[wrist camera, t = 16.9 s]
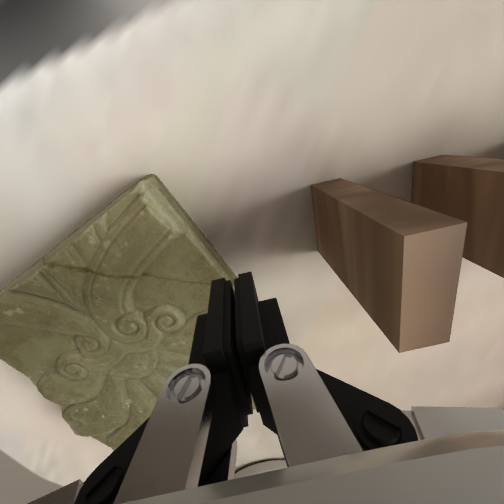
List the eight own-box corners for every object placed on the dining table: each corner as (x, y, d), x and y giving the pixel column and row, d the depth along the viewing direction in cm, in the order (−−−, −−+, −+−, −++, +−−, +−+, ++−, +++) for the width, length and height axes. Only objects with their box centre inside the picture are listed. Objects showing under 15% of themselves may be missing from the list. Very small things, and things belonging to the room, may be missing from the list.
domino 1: (318, 251, 19) (399, 352, 10) (310, 185, 17) (404, 236, 8) (344, 245, 19) (449, 342, 10) (339, 178, 17) (467, 222, 8)
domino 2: (409, 230, 19) (575, 313, 10) (413, 161, 17) (626, 185, 8) (435, 224, 19) (626, 302, 10) (442, 154, 17) (690, 171, 8)
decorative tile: (157, 168, 16) (140, 174, 13) (302, 354, 24) (314, 388, 21) (-34, 310, 19) (-88, 344, 16) (149, 436, 27) (138, 477, 24)
